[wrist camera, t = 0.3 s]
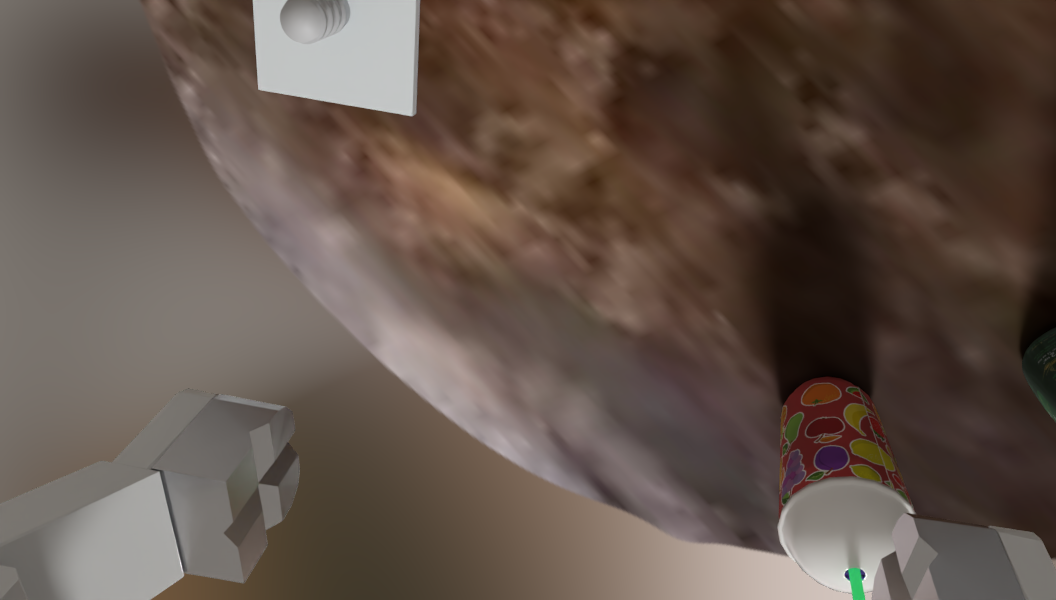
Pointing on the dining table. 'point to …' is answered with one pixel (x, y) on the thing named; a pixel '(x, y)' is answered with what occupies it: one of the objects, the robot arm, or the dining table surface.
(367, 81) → the stud board
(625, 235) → the dining table surface
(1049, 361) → the coffee jar
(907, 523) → the robot arm
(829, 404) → the smoothie
